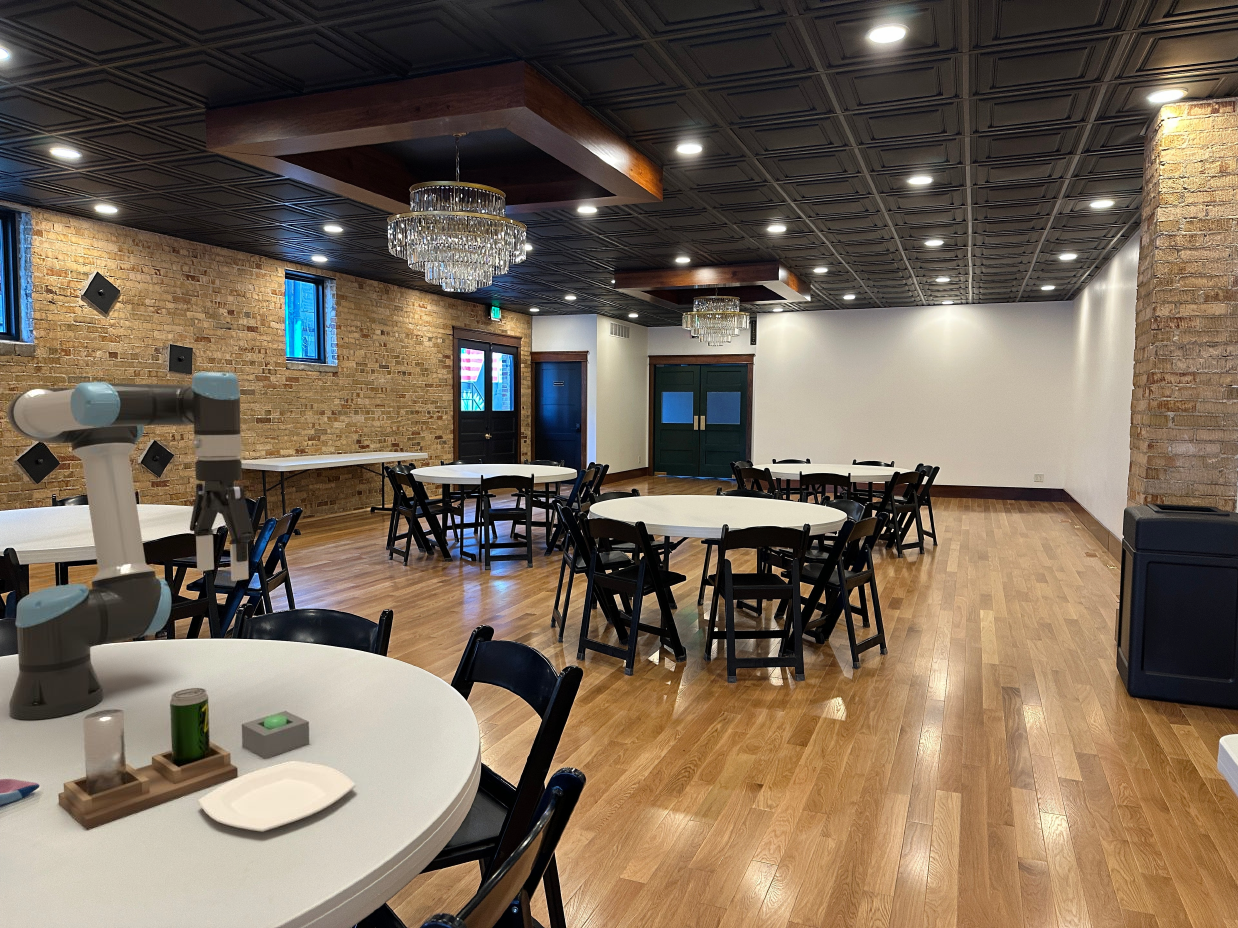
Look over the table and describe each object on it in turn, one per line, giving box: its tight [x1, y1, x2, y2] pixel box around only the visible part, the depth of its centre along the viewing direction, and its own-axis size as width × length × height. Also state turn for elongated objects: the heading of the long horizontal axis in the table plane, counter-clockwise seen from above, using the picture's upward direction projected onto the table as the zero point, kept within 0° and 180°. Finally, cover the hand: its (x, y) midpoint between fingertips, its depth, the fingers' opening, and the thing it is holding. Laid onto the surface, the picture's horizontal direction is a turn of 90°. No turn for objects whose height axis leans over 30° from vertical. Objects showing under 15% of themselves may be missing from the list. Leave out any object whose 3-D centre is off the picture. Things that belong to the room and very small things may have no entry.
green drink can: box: [169, 687, 211, 767], centre depth 127 cm, size 5×5×12 cm
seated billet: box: [82, 708, 127, 796], centre depth 118 cm, size 5×5×12 cm
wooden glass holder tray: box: [57, 741, 239, 831], centre depth 123 cm, size 12×21×4 cm, turn 141°
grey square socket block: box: [241, 710, 310, 760], centre depth 140 cm, size 8×8×4 cm
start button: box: [264, 713, 287, 730], centre depth 139 cm, size 4×4×3 cm
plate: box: [197, 760, 357, 832], centre depth 119 cm, size 19×19×2 cm
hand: (222, 574), depth 145 cm, fingers open, 13 cm apart
